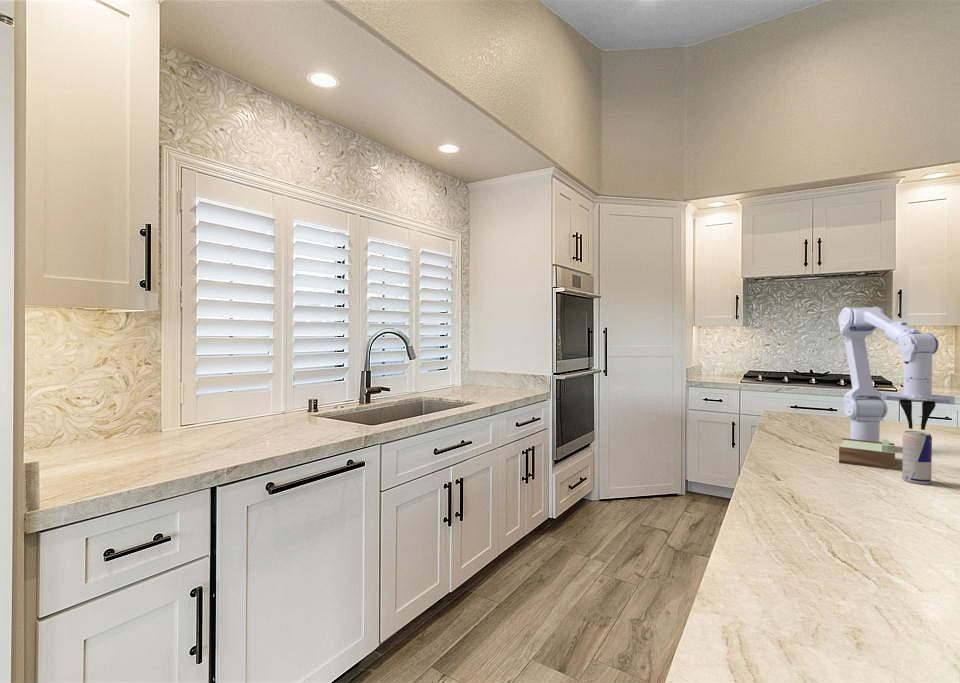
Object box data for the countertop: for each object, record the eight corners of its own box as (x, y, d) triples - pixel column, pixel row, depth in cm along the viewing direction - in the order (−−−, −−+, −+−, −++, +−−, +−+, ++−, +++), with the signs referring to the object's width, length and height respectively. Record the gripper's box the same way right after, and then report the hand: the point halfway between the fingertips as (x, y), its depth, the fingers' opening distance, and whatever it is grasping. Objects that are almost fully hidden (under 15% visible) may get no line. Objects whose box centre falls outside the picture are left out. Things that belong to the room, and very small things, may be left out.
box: (842, 452, 150) (842, 438, 150) (894, 458, 142) (894, 443, 142) (838, 462, 139) (839, 447, 139) (894, 470, 131) (895, 453, 131)
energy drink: (937, 484, 119) (938, 435, 119) (914, 484, 119) (915, 435, 119) (918, 478, 125) (918, 430, 124) (896, 478, 125) (897, 430, 124)
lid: (843, 441, 149) (843, 434, 149) (893, 447, 142) (893, 439, 142) (840, 450, 139) (840, 441, 139) (893, 456, 132) (894, 447, 132)
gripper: (882, 378, 135) (882, 427, 135) (956, 381, 126) (955, 434, 126) (882, 375, 140) (882, 423, 141) (953, 378, 131) (952, 430, 131)
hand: (916, 428), depth 134 cm, fingers closed
